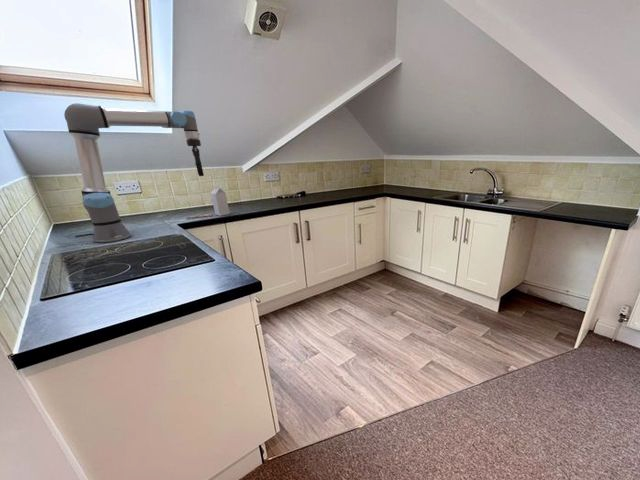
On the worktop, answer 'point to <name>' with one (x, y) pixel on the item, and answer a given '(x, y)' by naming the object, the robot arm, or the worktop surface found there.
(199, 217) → the wooden spoon
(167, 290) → the worktop surface
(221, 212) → the milk carton
